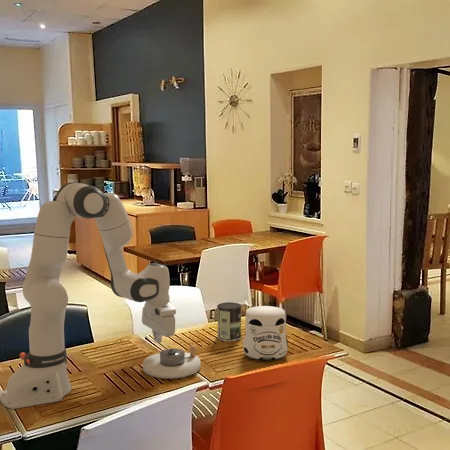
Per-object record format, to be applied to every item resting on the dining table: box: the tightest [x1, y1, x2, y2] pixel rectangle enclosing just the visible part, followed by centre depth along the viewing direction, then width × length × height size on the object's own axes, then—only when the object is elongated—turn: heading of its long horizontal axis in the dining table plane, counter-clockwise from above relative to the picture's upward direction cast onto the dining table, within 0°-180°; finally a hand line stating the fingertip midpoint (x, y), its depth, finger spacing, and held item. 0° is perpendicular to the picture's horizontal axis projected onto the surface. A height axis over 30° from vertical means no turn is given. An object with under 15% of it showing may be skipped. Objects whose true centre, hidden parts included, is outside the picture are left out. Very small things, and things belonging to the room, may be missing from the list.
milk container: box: [242, 305, 289, 362], centre depth 222 cm, size 17×17×18 cm
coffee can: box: [216, 301, 242, 342], centre depth 244 cm, size 10×10×14 cm
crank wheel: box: [142, 344, 202, 379], centre depth 210 cm, size 21×21×6 cm
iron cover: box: [159, 348, 186, 367], centre depth 210 cm, size 9×9×5 cm
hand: (157, 341), depth 217 cm, fingers closed
